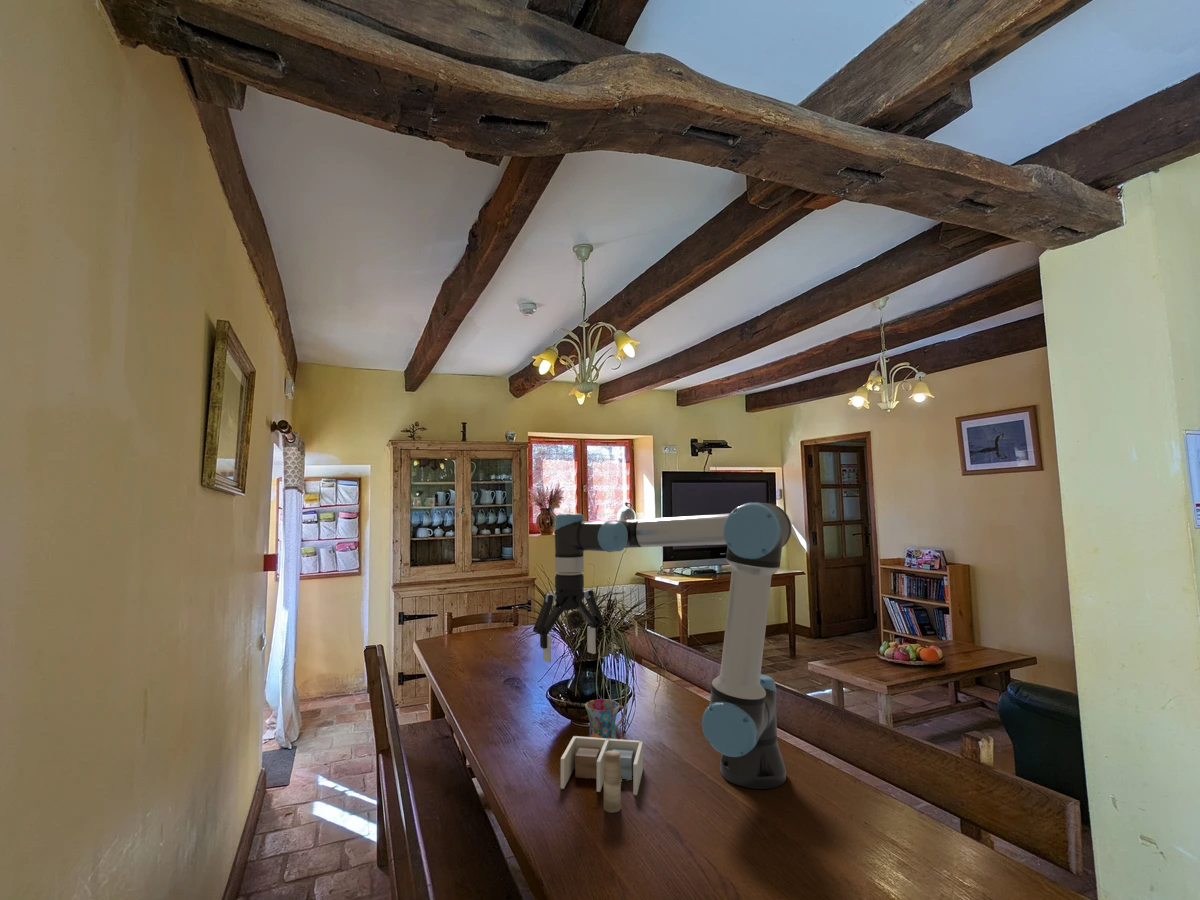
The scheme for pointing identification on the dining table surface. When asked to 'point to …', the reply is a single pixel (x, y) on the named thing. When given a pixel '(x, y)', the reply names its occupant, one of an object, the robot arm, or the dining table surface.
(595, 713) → the mug
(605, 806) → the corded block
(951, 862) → the dining table surface
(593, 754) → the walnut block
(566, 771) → the lane rack
